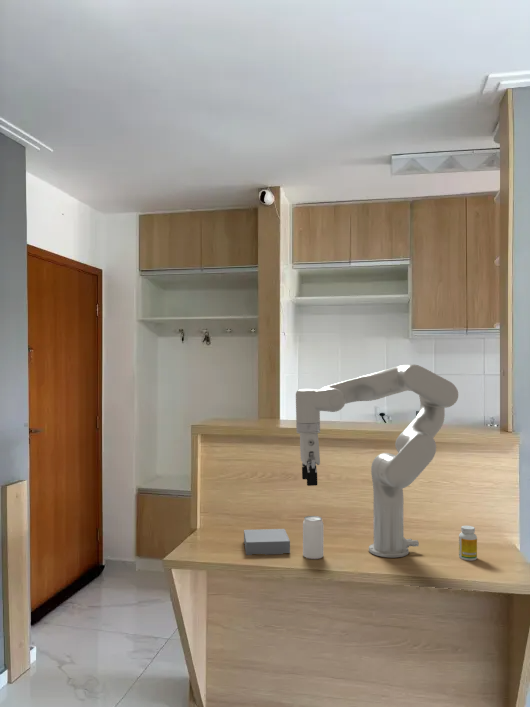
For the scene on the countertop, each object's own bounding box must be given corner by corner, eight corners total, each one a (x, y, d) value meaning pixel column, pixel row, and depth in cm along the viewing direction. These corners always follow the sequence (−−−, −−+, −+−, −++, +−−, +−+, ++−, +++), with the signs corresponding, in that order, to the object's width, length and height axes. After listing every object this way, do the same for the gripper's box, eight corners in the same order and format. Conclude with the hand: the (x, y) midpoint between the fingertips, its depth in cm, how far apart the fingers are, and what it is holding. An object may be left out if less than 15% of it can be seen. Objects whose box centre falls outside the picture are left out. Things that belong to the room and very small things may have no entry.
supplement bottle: (455, 556, 183) (455, 525, 183) (470, 554, 184) (470, 524, 184) (465, 561, 177) (465, 530, 177) (480, 560, 179) (480, 528, 179)
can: (322, 560, 178) (322, 521, 179) (301, 558, 180) (301, 520, 180) (324, 553, 185) (324, 516, 185) (304, 552, 186) (304, 514, 186)
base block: (284, 540, 199) (284, 528, 199) (290, 553, 185) (290, 541, 185) (243, 541, 197) (243, 529, 197) (246, 555, 183) (246, 542, 183)
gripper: (325, 430, 175) (326, 487, 174) (315, 424, 192) (316, 476, 192) (300, 431, 174) (301, 488, 174) (292, 425, 191) (294, 477, 191)
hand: (309, 482), depth 183 cm, fingers open, 9 cm apart
